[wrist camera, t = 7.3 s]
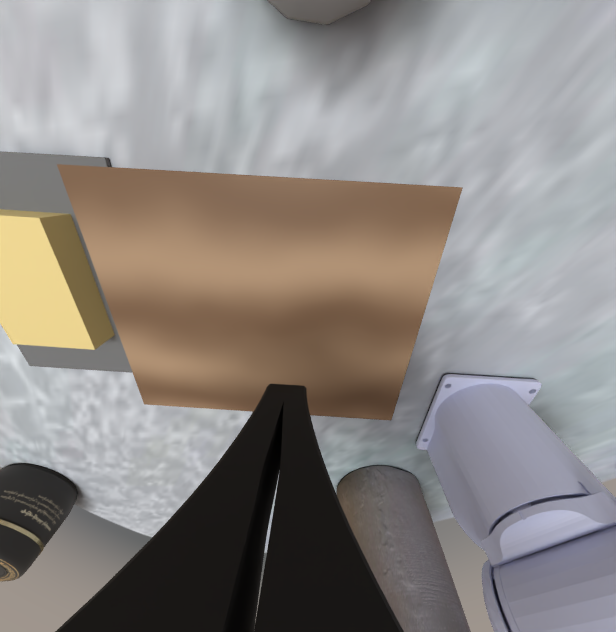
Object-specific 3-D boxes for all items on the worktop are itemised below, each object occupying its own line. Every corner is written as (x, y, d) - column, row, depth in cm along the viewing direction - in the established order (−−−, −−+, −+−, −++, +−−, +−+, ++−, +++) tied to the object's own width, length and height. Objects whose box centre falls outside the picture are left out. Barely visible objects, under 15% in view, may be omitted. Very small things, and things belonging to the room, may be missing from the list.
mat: (168, 372, 22) (166, 374, 22) (33, 363, 22) (29, 365, 22) (108, 157, 14) (104, 157, 14) (-97, 146, 14) (-105, 145, 14)
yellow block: (13, 344, 18) (40, 329, 20) (95, 349, 18) (114, 334, 20) (-68, 210, 14) (-25, 207, 16) (38, 217, 14) (70, 213, 16)
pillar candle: (349, 514, 32) (373, 742, 19) (325, 472, 28) (335, 729, 15) (425, 502, 31) (510, 744, 17) (412, 455, 26) (510, 730, 13)
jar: (39, 507, 35) (-28, 585, 28) (-22, 464, 30) (-120, 546, 23) (99, 500, 33) (43, 581, 26) (44, 454, 29) (-40, 538, 22)
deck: (379, 381, 22) (391, 420, 18) (172, 368, 22) (144, 404, 18) (427, 186, 14) (462, 187, 11) (119, 168, 15) (56, 164, 11)
